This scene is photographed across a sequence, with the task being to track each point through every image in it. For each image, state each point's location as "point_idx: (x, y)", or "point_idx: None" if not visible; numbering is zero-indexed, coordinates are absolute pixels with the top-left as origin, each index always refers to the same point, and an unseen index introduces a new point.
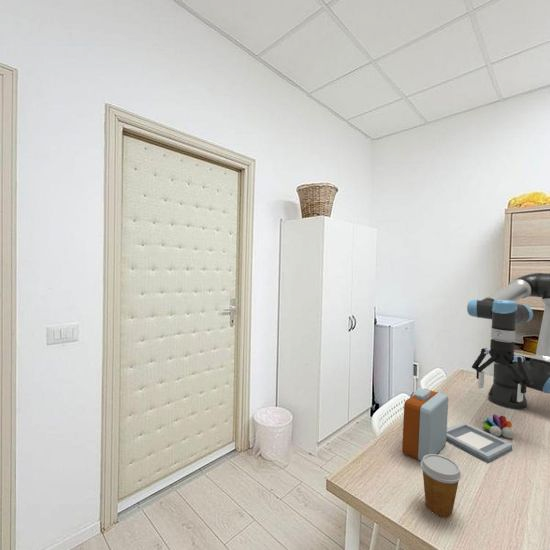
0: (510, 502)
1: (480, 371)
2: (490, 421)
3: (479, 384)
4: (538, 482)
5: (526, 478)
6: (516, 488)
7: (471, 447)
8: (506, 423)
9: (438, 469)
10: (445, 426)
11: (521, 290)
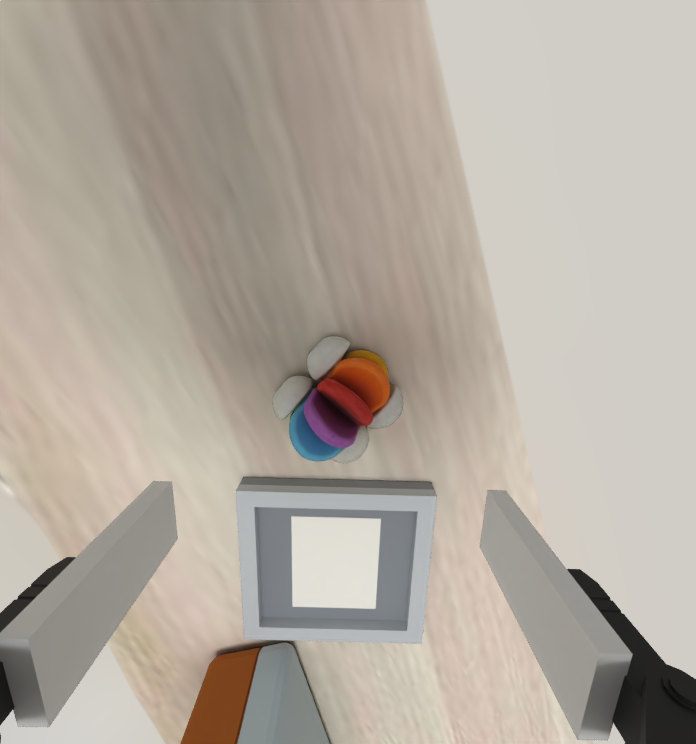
0: (518, 717)
1: (5, 700)
2: (322, 460)
3: (150, 566)
4: None
5: None
6: (511, 662)
7: (365, 639)
8: (366, 388)
9: None
10: (286, 741)
11: None
